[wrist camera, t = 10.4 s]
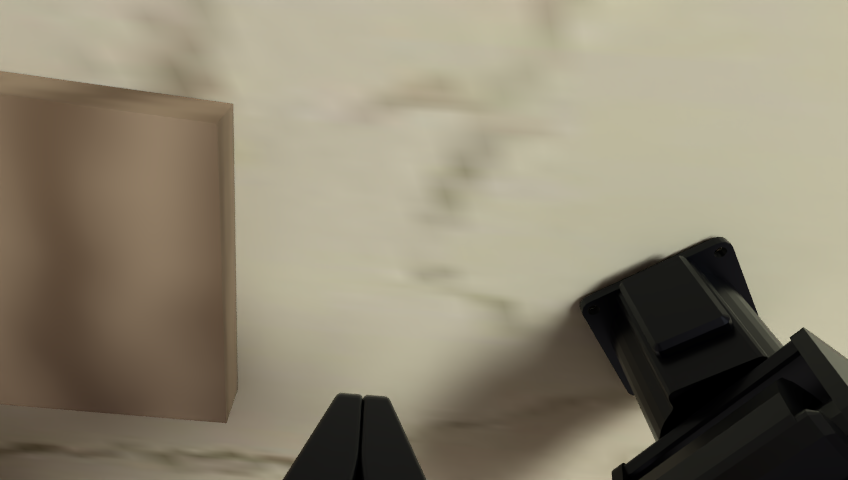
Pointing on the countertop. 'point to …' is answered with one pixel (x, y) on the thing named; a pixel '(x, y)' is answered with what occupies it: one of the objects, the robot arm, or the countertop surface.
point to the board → (116, 250)
